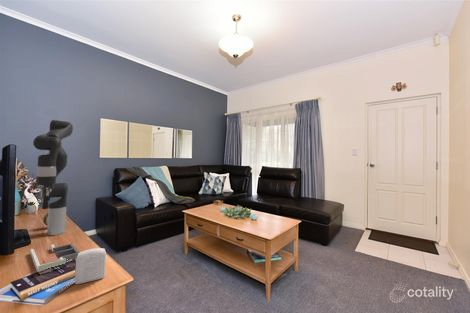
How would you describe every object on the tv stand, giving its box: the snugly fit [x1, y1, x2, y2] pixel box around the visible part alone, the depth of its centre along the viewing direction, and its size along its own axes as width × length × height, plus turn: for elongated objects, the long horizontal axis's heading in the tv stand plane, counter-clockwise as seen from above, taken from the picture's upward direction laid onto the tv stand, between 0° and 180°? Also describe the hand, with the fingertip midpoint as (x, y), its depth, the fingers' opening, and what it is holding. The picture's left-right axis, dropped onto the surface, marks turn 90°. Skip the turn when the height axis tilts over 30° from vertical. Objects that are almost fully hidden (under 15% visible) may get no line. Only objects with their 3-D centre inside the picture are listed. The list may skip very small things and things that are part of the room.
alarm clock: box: [42, 212, 48, 230], centre depth 150 cm, size 11×5×16 cm, turn 148°
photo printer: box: [74, 247, 107, 285], centre depth 85 cm, size 10×4×12 cm, turn 123°
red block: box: [42, 255, 59, 264], centre depth 94 cm, size 6×4×4 cm
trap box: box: [30, 243, 81, 272], centre depth 103 cm, size 30×16×4 cm, turn 49°
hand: (45, 208), depth 106 cm, fingers closed
